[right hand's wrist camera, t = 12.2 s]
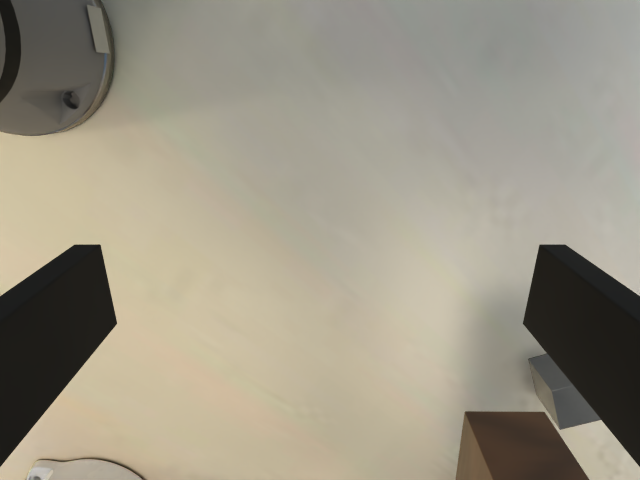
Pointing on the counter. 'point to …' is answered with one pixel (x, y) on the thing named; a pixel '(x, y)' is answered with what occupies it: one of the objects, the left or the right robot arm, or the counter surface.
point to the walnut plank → (514, 448)
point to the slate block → (559, 394)
